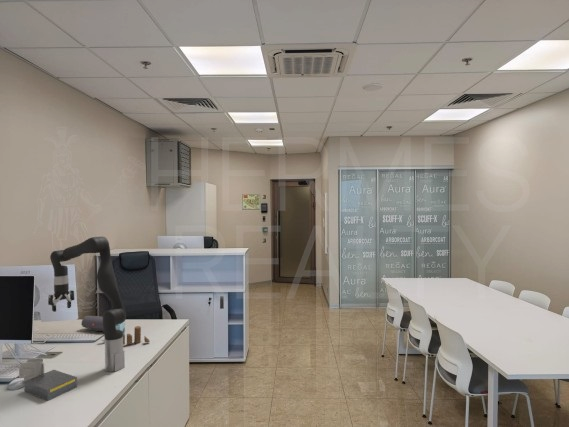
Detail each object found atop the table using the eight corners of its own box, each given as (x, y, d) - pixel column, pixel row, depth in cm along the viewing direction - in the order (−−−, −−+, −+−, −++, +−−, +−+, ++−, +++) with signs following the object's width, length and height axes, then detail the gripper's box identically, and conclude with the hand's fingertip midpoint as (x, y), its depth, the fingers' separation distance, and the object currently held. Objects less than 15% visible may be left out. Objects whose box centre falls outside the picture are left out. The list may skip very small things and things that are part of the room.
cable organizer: (24, 378, 185) (24, 358, 185) (47, 377, 186) (46, 357, 186) (17, 384, 179) (16, 363, 179) (40, 383, 180) (40, 362, 180)
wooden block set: (119, 349, 224) (119, 333, 223) (118, 343, 231) (119, 328, 231) (149, 344, 232) (150, 329, 232) (148, 339, 240) (148, 324, 239)
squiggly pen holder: (119, 342, 236) (119, 328, 236) (103, 343, 234) (103, 329, 234) (126, 332, 253) (125, 319, 253) (111, 333, 251) (111, 320, 251)
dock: (77, 387, 176) (77, 377, 176) (47, 400, 164) (47, 390, 163) (53, 379, 185) (53, 369, 184) (24, 391, 172) (24, 381, 172)
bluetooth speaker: (80, 330, 258) (80, 317, 258) (91, 326, 267) (90, 313, 267) (105, 333, 252) (105, 319, 252) (115, 329, 261) (115, 316, 261)
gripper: (52, 285, 206) (53, 313, 206) (76, 281, 218) (77, 307, 219) (45, 284, 209) (45, 312, 209) (69, 280, 222) (69, 306, 222)
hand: (61, 309), depth 214 cm, fingers open, 8 cm apart
